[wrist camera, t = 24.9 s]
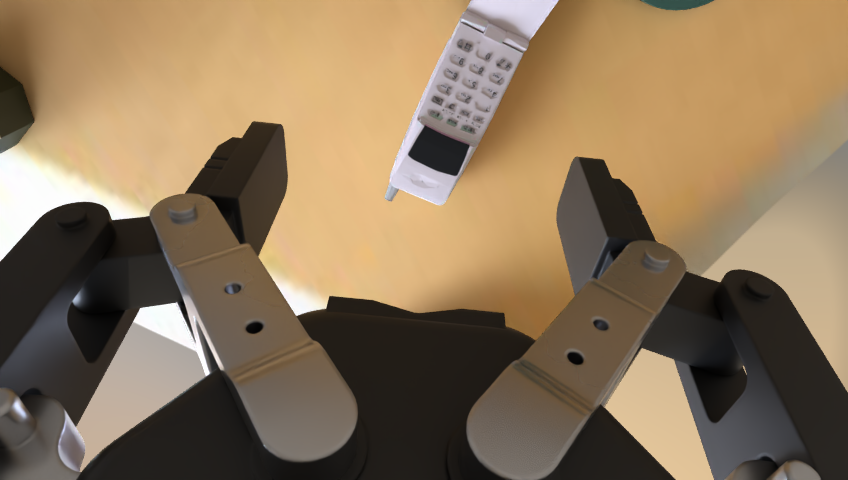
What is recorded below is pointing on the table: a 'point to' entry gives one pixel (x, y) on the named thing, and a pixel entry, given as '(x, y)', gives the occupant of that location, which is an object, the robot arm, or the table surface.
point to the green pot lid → (676, 4)
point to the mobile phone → (464, 95)
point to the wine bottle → (12, 111)
